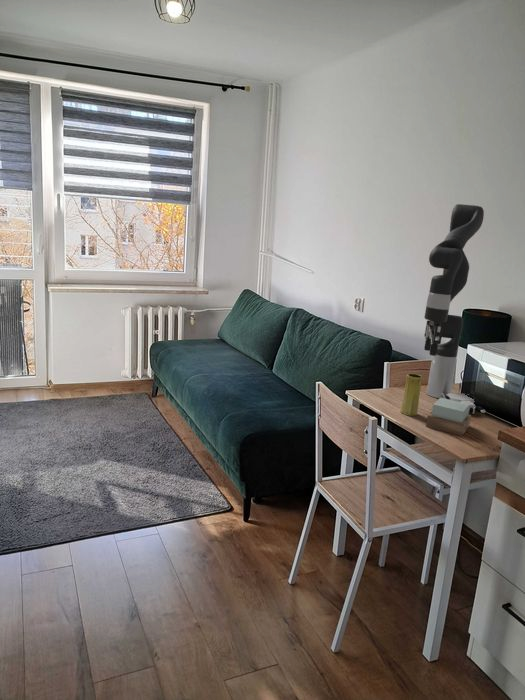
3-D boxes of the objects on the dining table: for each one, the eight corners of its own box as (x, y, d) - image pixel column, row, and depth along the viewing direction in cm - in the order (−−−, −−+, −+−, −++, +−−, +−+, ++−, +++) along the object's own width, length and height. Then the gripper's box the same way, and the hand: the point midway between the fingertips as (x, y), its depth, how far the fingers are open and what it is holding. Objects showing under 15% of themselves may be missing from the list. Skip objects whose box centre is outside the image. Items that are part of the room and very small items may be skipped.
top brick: (438, 408, 197) (440, 397, 196) (467, 415, 192) (469, 404, 191) (431, 415, 188) (433, 404, 187) (461, 423, 183) (463, 411, 182)
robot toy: (486, 419, 205) (469, 403, 219) (488, 408, 204) (471, 392, 218) (454, 417, 204) (439, 401, 218) (456, 406, 202) (441, 390, 217)
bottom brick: (434, 417, 199) (436, 406, 198) (469, 426, 193) (471, 415, 192) (425, 426, 189) (427, 415, 188) (462, 435, 183) (464, 424, 182)
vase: (421, 415, 200) (427, 377, 196) (407, 416, 197) (413, 378, 194) (410, 409, 205) (416, 372, 202) (396, 410, 203) (402, 373, 199)
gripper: (454, 310, 182) (445, 358, 186) (443, 305, 196) (436, 350, 200) (431, 308, 183) (423, 355, 186) (422, 303, 197) (415, 347, 200)
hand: (429, 352), depth 193 cm, fingers open, 8 cm apart
